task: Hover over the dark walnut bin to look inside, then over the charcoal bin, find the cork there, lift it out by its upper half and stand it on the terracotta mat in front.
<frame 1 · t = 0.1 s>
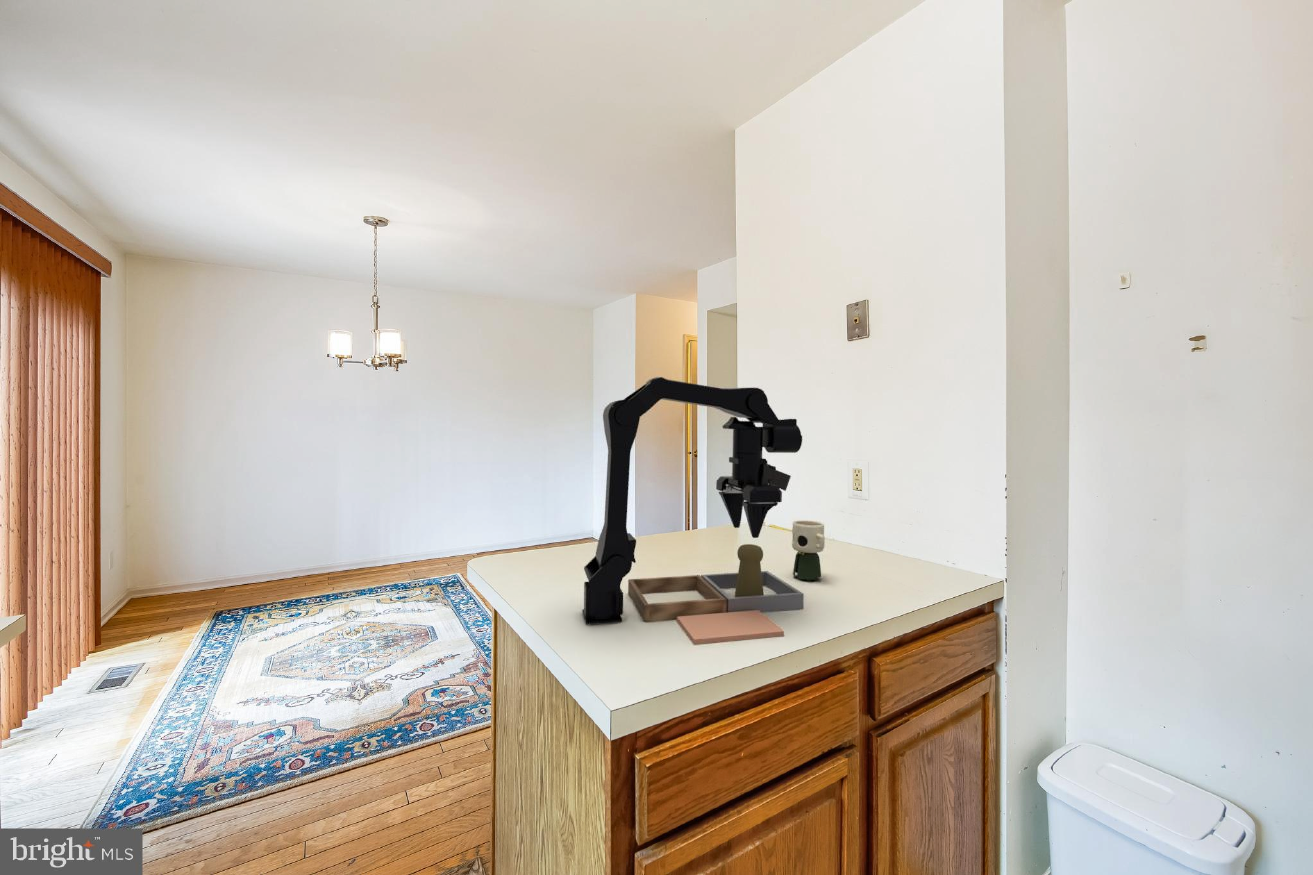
hand: (745, 532, 101), 15 cm above the worktop, tool pointing down, fingers open, 9 cm apart
cork: (749, 599, 106), resting in charcoal bin
charcoal bin: (749, 598, 106), on the worktop
character mug: (806, 579, 120), on the worktop
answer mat: (728, 628, 90), on the worktop
walnut bin: (674, 603, 102), on the worktop
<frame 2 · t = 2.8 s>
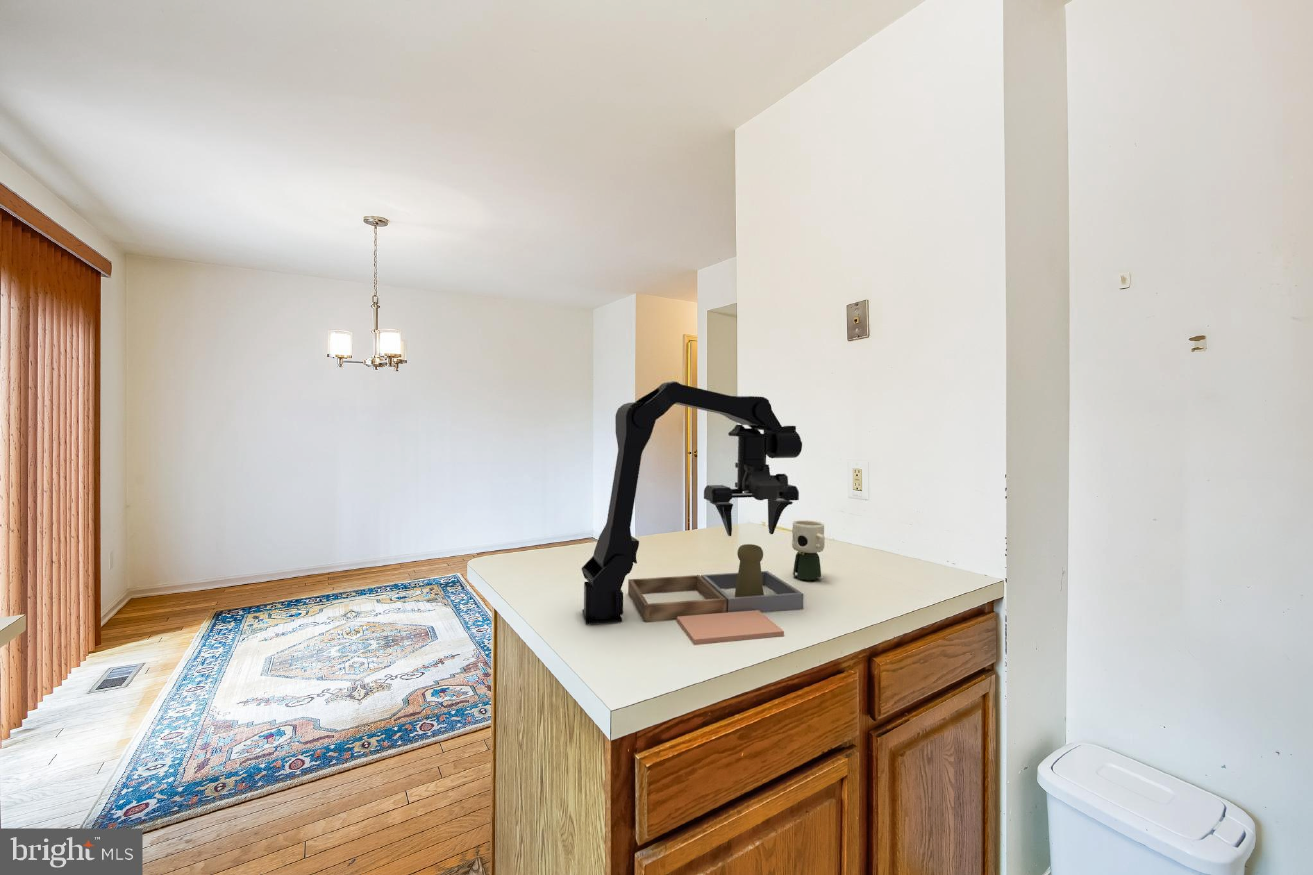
hand: (750, 534, 105), 13 cm above the worktop, tool pointing down, fingers open, 9 cm apart
nothing on the worktop moved.
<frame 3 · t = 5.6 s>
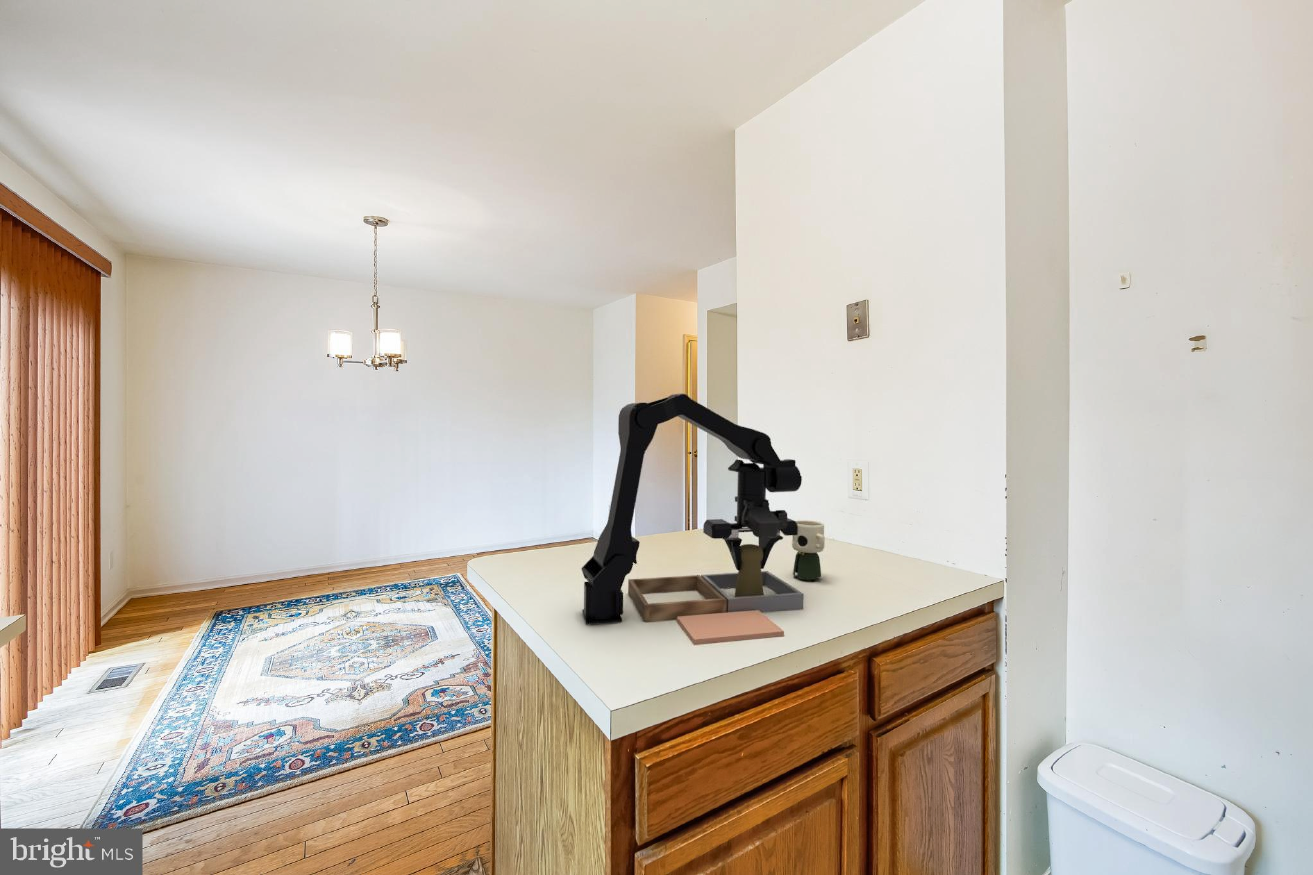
hand: (749, 569, 106), 6 cm above the worktop, tool pointing down, fingers closed on cork, 5 cm apart
cork: (749, 599, 106), resting in charcoal bin, touching gripper
everything else where it was.
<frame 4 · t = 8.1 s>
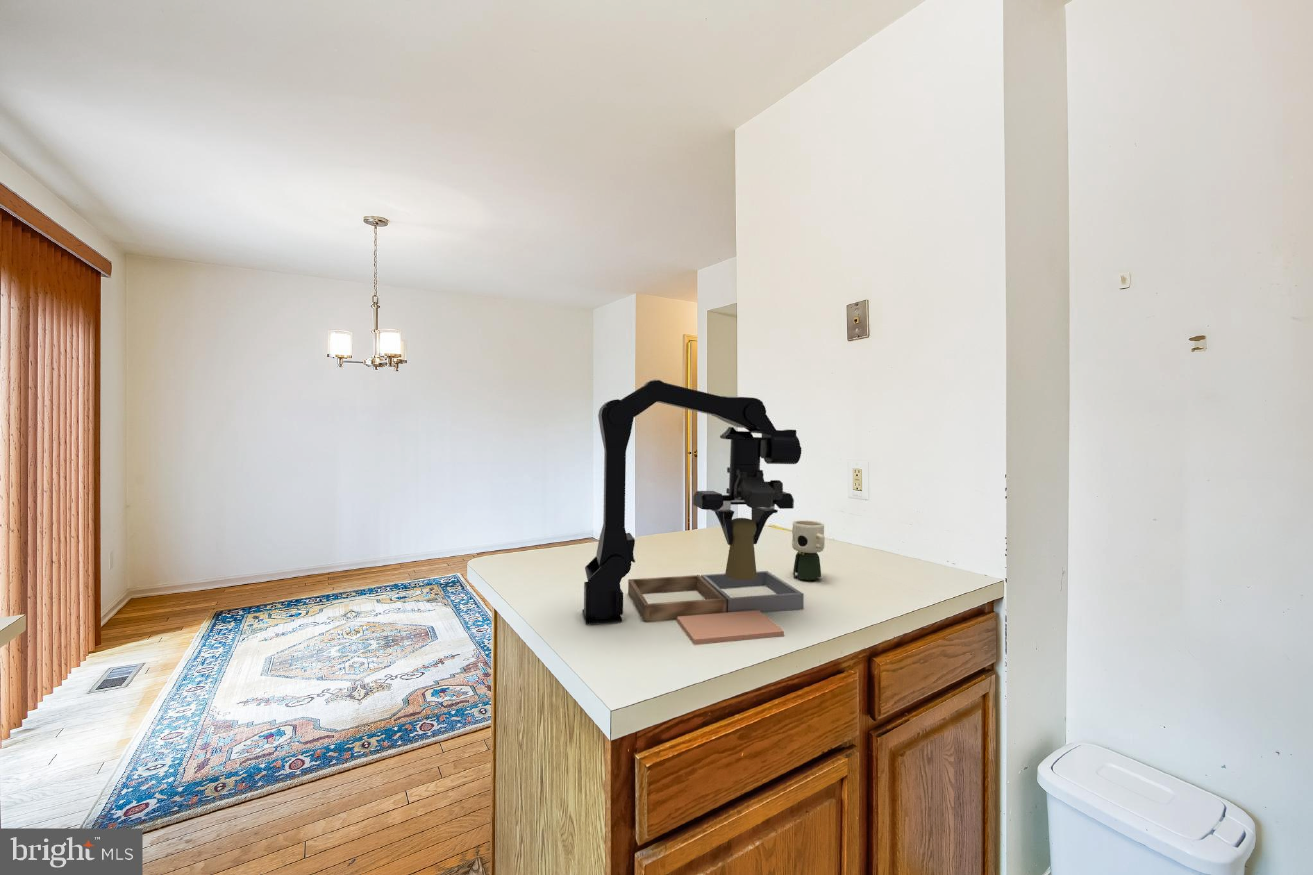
hand: (741, 544, 99), 13 cm above the worktop, tool pointing down, fingers closed on cork, 5 cm apart
cork: (740, 576, 100), point 6 cm above the worktop, touching gripper
everything else where it was.
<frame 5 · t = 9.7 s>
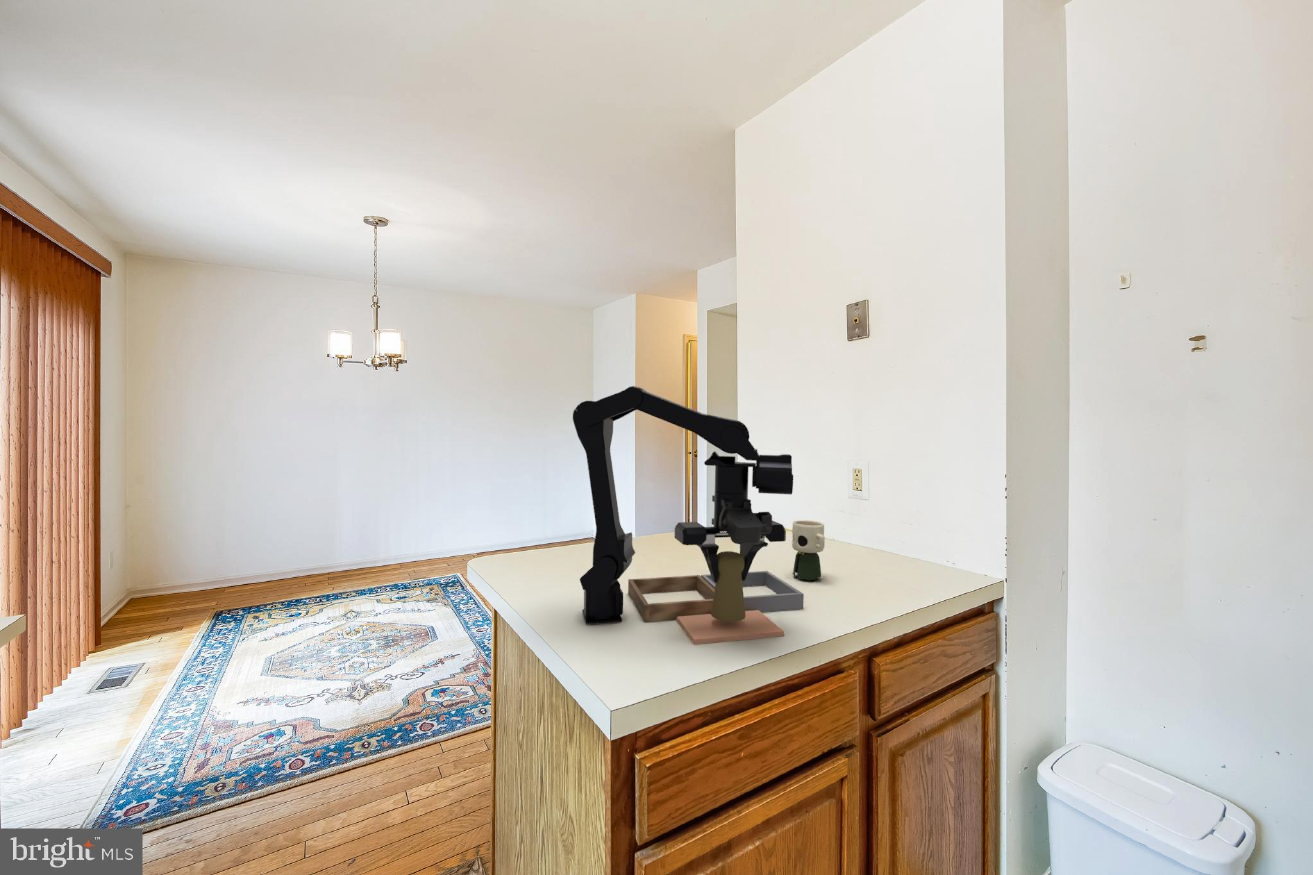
hand: (728, 580, 90), 8 cm above the worktop, tool pointing down, fingers closed on cork, 5 cm apart
cork: (728, 616, 90), point 2 cm above the worktop, touching gripper
everything else where it was.
when the fingers open (8 cm above the worktop, at t = 10.8 s): cork stays where it is, resting on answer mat.
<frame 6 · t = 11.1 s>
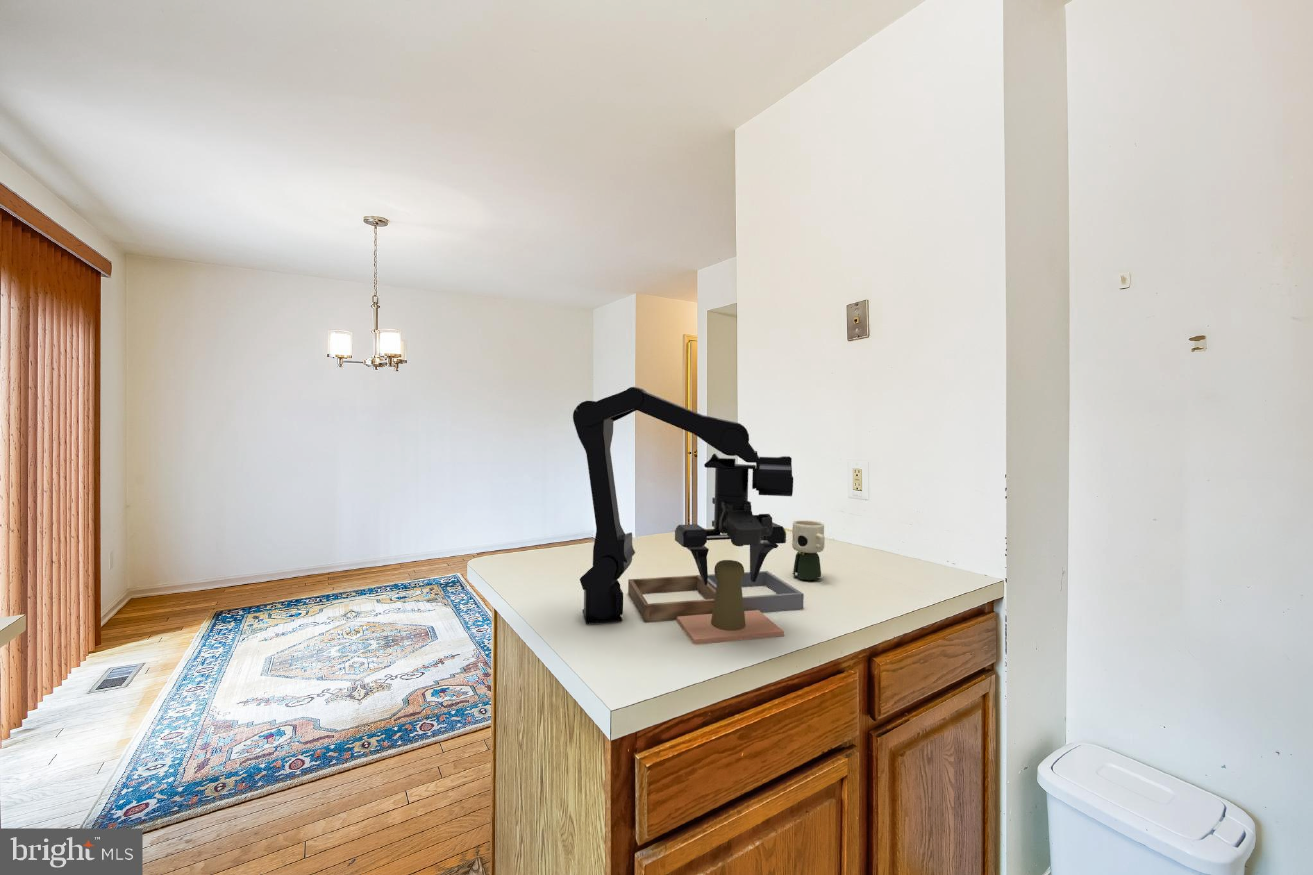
hand: (729, 582, 90), 8 cm above the worktop, tool pointing down, fingers open, 9 cm apart
cork: (728, 624, 90), point 1 cm above the worktop, touching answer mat
everything else where it was.
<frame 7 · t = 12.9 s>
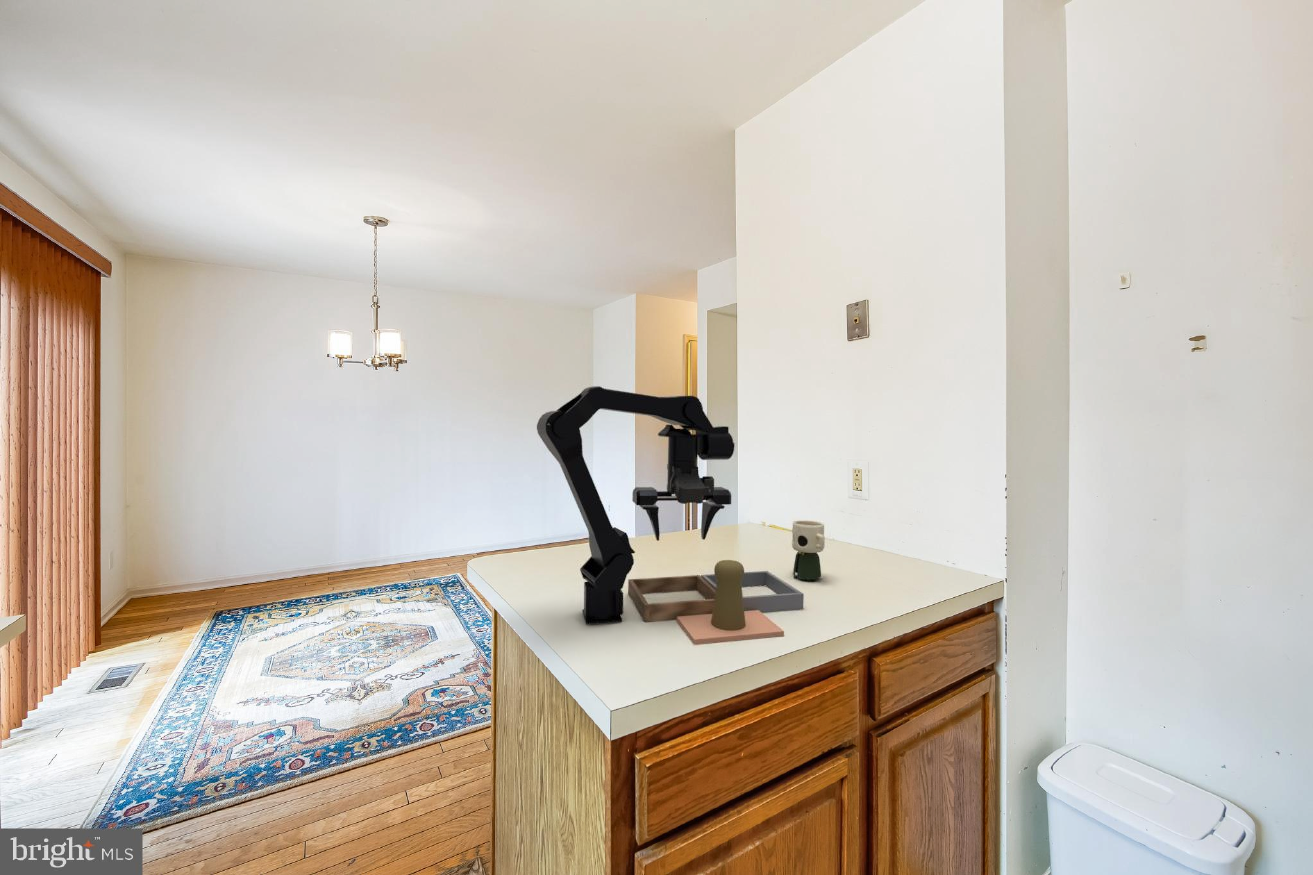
hand: (680, 539, 101), 13 cm above the worktop, tool pointing down, fingers open, 9 cm apart
nothing on the worktop moved.
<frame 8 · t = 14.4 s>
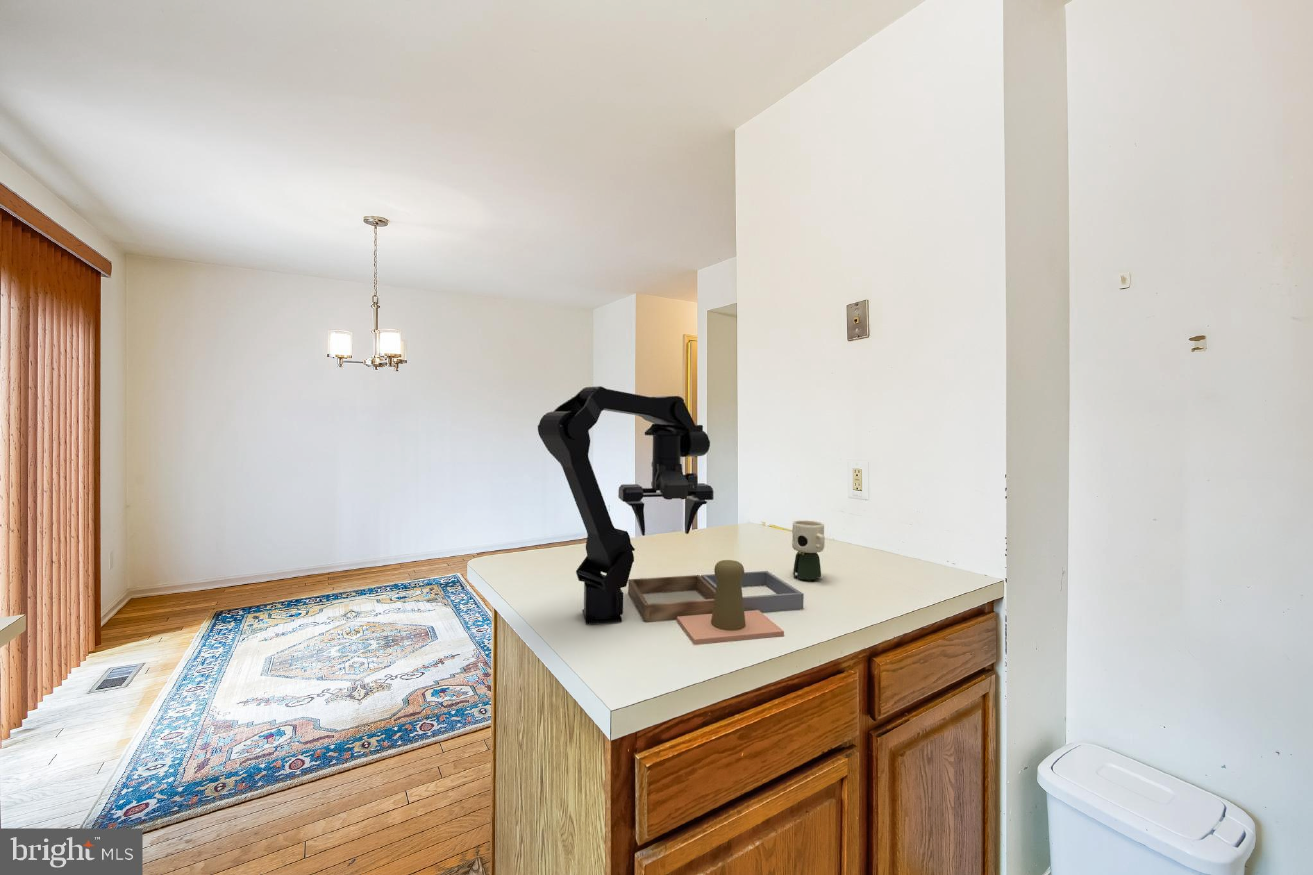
hand: (665, 534, 105), 13 cm above the worktop, tool pointing down, fingers open, 9 cm apart
nothing on the worktop moved.
at the end: cork inside the target area on the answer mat (0.1 cm from its centre), point 0.6 cm above the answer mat's base; cork tilted 0°; the gripper is holding nothing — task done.
